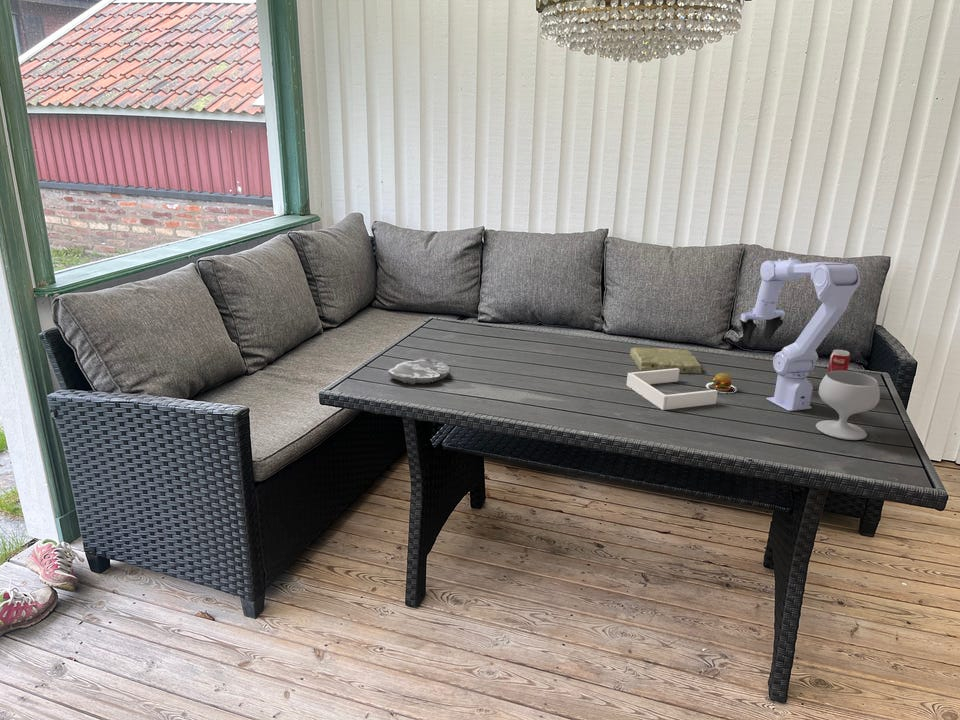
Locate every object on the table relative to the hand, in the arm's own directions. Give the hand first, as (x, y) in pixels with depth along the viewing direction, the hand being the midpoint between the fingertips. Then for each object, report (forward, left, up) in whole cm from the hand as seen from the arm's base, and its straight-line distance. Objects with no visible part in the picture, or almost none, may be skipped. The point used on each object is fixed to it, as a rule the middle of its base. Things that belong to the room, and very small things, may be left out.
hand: (756, 340), depth 213 cm
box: (-4, +31, -13) cm, 34 cm away
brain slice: (+29, +98, -14) cm, 103 cm away
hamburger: (-3, +13, -14) cm, 20 cm away
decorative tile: (+21, +17, -14) cm, 31 cm away
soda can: (-13, -21, -14) cm, 28 cm away
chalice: (-39, +2, -14) cm, 41 cm away
